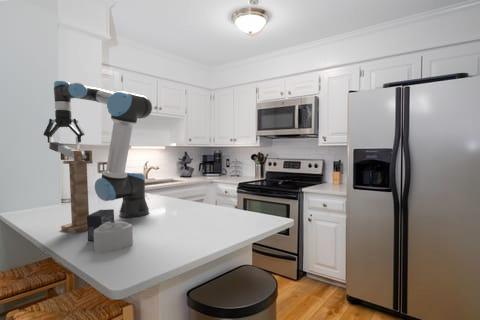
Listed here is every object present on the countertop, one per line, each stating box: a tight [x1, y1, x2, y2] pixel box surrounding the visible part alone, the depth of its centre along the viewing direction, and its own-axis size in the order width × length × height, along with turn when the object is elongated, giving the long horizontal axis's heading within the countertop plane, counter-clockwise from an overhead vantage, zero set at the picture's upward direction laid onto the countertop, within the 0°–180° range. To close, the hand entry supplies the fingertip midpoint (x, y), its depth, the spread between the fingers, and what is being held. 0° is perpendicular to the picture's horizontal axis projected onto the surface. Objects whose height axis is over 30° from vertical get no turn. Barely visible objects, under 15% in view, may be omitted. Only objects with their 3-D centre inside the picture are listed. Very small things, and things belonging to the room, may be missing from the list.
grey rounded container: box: [93, 220, 134, 253], centre depth 104 cm, size 10×13×9 cm
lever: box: [48, 141, 88, 160], centre depth 129 cm, size 26×3×3 cm, turn 63°
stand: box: [60, 149, 93, 235], centre depth 126 cm, size 12×11×36 cm
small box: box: [87, 209, 115, 242], centre depth 115 cm, size 11×6×10 cm, turn 178°
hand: (64, 148), depth 154 cm, fingers open, 13 cm apart
